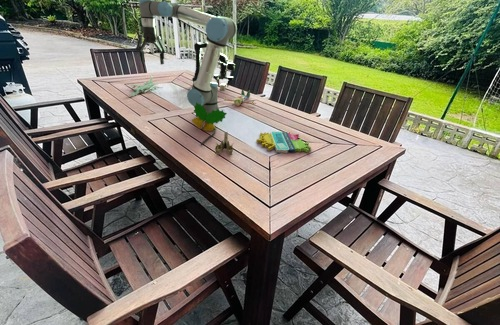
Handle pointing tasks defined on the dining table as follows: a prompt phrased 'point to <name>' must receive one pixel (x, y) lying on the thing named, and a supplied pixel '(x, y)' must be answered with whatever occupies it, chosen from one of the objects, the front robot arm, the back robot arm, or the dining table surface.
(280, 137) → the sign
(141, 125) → the dining table surface
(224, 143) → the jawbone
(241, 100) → the toy
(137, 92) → the airplane
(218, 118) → the ornament
